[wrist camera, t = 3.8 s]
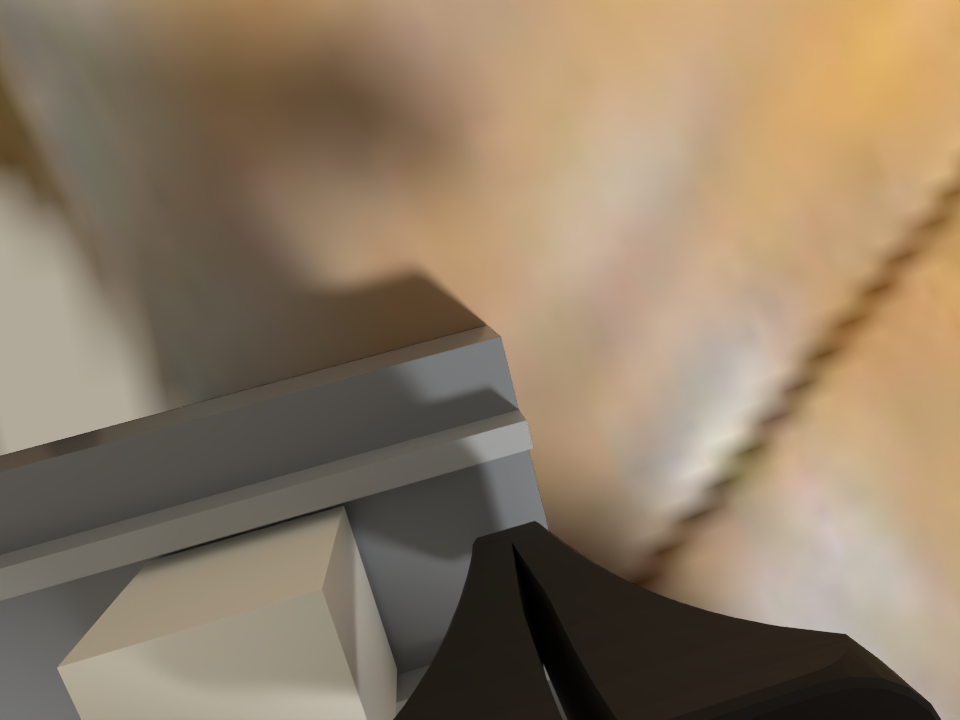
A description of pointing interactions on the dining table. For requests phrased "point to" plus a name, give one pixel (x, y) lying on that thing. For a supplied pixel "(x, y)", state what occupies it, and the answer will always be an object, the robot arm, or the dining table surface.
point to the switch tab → (242, 634)
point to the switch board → (270, 498)
